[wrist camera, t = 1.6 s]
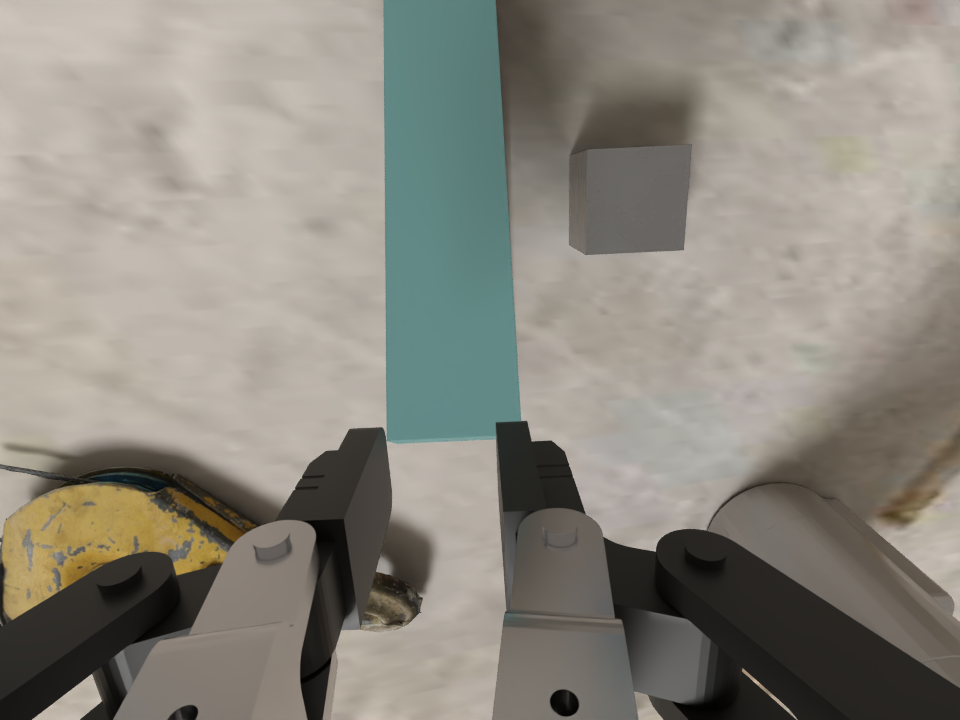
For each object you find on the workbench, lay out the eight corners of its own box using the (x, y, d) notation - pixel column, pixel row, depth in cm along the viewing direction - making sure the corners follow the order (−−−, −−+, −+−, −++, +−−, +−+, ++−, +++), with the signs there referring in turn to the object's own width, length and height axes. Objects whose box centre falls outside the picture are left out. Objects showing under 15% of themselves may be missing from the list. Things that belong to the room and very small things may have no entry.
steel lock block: (657, 151, 30) (691, 144, 25) (652, 240, 31) (683, 250, 26) (569, 155, 30) (587, 149, 25) (568, 244, 31) (585, 254, 27)
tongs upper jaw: (487, -91, 24) (487, -141, 22) (518, 438, 19) (521, 434, 17) (391, -86, 24) (382, -136, 22) (397, 443, 19) (386, 440, 17)
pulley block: (399, 738, 35) (-68, 672, 33) (408, 672, 41) (10, 614, 39) (437, 545, 33) (-60, 463, 31) (440, 505, 39) (22, 434, 37)
